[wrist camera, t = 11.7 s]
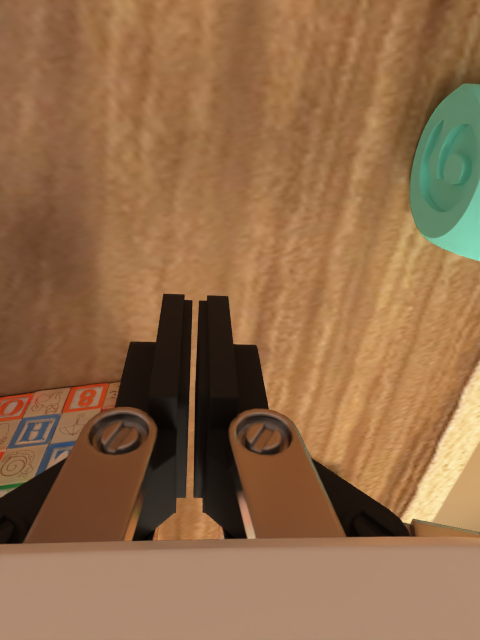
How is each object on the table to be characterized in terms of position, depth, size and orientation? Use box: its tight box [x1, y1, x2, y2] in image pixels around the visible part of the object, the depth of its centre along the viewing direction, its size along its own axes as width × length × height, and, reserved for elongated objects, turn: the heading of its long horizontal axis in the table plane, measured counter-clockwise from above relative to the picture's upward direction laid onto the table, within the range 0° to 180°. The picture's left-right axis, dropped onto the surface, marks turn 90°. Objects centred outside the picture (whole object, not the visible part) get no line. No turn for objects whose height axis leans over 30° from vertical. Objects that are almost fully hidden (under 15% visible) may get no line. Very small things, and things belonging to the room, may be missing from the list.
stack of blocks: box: [0, 382, 120, 498], centre depth 32 cm, size 21×6×12 cm, turn 96°
